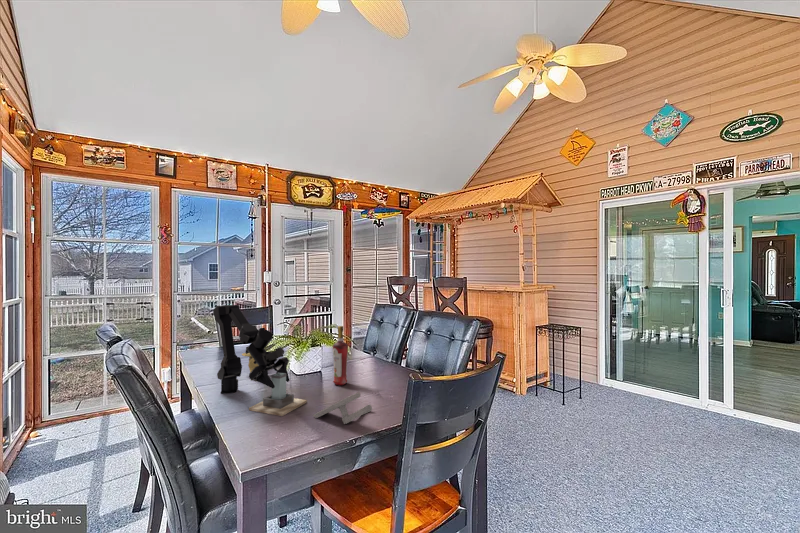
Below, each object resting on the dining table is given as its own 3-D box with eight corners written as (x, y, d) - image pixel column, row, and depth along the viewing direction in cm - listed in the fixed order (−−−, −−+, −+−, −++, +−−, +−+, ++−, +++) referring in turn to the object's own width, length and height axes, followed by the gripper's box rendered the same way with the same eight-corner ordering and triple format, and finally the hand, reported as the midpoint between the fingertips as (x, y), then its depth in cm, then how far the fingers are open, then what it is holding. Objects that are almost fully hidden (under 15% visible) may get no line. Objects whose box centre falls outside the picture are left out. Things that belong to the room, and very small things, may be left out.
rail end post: (271, 404, 157) (271, 375, 157) (277, 401, 161) (278, 372, 161) (279, 406, 155) (279, 376, 155) (286, 402, 159) (286, 373, 159)
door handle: (320, 435, 144) (355, 419, 134) (313, 414, 147) (346, 397, 137) (352, 419, 159) (386, 403, 149) (344, 400, 161) (377, 383, 151)
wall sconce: (264, 376, 200) (265, 328, 200) (245, 379, 195) (245, 329, 195) (258, 370, 212) (259, 324, 212) (240, 372, 207) (240, 326, 207)
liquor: (329, 384, 188) (329, 326, 188) (341, 380, 193) (341, 324, 193) (338, 387, 183) (339, 328, 183) (350, 384, 188) (351, 326, 188)
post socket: (248, 410, 153) (248, 400, 153) (275, 397, 168) (275, 388, 168) (282, 416, 148) (282, 405, 148) (306, 402, 162) (306, 392, 162)
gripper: (255, 346, 151) (278, 378, 147) (285, 338, 168) (307, 366, 164) (239, 364, 153) (261, 396, 149) (270, 354, 171) (291, 382, 167)
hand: (281, 384), depth 157 cm, fingers open, 9 cm apart
